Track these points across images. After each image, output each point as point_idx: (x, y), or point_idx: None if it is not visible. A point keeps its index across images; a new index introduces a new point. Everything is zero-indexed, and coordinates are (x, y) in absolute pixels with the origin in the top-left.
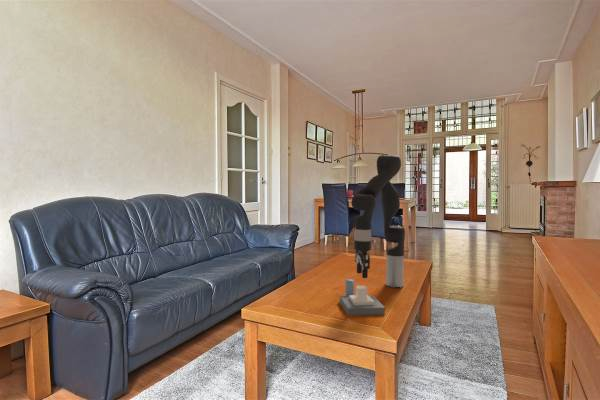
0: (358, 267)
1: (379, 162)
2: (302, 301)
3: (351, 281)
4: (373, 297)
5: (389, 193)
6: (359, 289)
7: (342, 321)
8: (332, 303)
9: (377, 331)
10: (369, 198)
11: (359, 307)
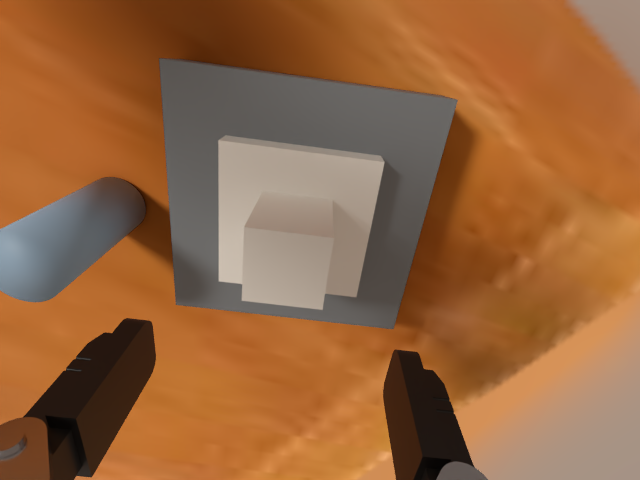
0: (111, 425)
1: None
2: (166, 418)
3: (58, 268)
4: (213, 79)
5: None
6: (323, 297)
7: (439, 343)
8: (198, 315)
9: (613, 246)
10: None
11: (399, 269)
